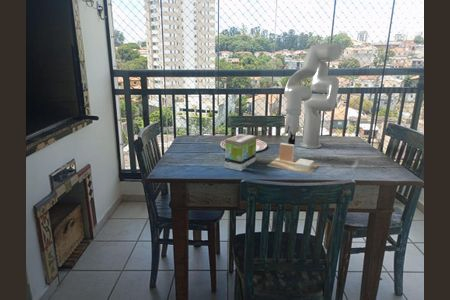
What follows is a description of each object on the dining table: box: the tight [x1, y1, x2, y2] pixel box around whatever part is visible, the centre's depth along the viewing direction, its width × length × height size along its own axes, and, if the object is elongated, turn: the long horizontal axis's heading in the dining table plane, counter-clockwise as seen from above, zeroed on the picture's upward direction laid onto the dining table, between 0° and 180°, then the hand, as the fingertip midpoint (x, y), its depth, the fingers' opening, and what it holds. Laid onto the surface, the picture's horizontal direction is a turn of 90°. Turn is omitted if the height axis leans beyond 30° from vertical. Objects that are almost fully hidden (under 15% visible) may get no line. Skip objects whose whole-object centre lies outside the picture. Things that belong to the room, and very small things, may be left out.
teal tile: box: [294, 158, 315, 171], centre depth 157 cm, size 2×7×8 cm
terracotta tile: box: [278, 142, 296, 162], centre depth 166 cm, size 2×7×8 cm, turn 60°
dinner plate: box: [220, 138, 268, 153], centre depth 191 cm, size 27×27×3 cm
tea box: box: [224, 133, 257, 172], centre depth 161 cm, size 15×10×15 cm, turn 148°
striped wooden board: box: [266, 156, 320, 175], centre depth 161 cm, size 16×22×1 cm
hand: (291, 146), depth 171 cm, fingers closed
